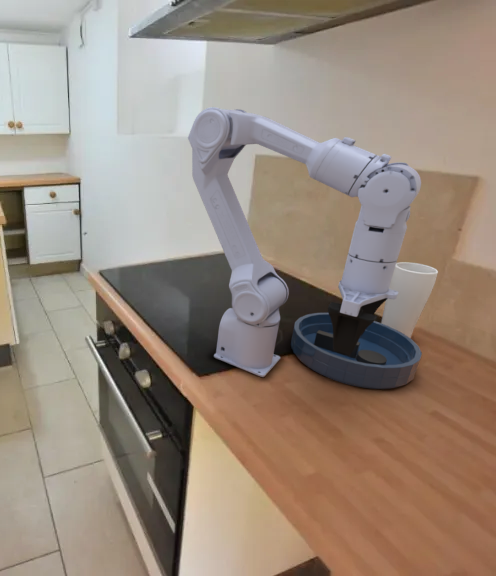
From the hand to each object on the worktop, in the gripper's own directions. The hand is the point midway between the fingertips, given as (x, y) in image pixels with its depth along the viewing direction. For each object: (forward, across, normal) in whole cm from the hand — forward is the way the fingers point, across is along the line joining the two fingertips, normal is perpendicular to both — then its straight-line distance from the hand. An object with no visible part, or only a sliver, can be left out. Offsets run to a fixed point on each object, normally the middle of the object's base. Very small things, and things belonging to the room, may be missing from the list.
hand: (348, 342), depth 57 cm
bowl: (+9, +13, +1) cm, 16 cm away
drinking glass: (+10, +28, -4) cm, 30 cm away
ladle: (+9, +13, +1) cm, 16 cm away
